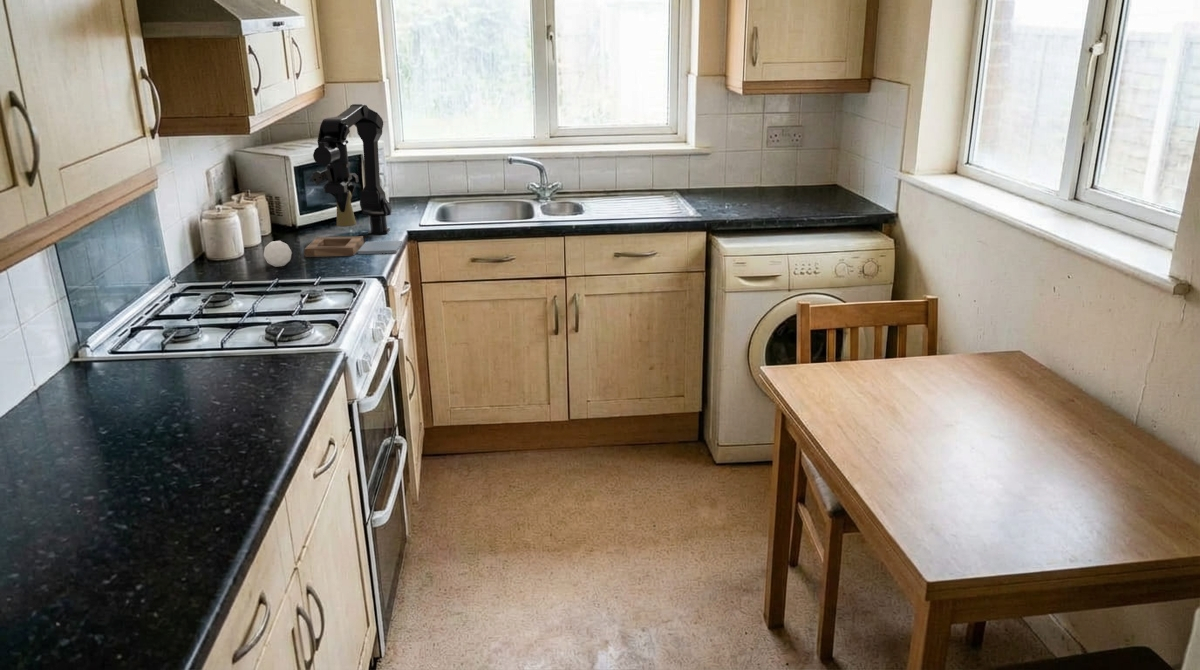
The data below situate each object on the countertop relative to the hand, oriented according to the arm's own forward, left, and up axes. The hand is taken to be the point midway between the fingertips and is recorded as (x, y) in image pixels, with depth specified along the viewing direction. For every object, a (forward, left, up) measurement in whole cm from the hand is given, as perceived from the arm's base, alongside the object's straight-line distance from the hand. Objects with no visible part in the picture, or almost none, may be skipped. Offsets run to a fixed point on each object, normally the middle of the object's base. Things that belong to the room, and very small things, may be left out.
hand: (344, 210), depth 269 cm
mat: (0, +10, -13) cm, 16 cm away
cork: (0, 0, -5) cm, 5 cm away
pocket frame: (0, -5, -13) cm, 14 cm away
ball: (+17, -17, -13) cm, 27 cm away
